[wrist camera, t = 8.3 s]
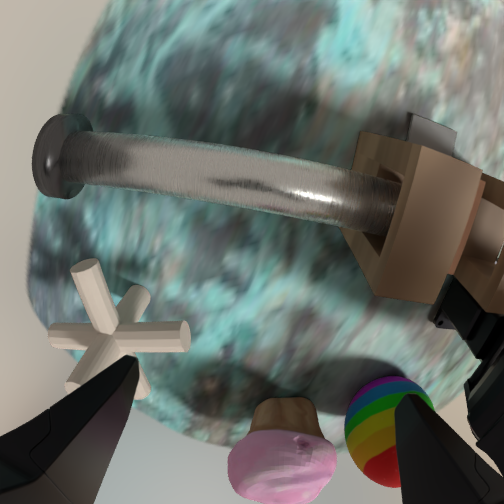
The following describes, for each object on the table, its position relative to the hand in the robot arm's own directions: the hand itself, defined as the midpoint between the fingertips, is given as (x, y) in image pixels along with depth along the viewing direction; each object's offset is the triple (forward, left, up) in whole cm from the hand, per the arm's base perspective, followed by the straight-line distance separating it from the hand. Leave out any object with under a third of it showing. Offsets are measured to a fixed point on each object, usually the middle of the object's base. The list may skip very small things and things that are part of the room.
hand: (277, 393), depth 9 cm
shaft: (+3, -5, -8) cm, 10 cm away
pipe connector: (+9, +6, -12) cm, 16 cm away
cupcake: (-4, +16, -12) cm, 21 cm away
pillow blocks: (-8, -5, -12) cm, 15 cm away
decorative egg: (-13, +13, -12) cm, 22 cm away
